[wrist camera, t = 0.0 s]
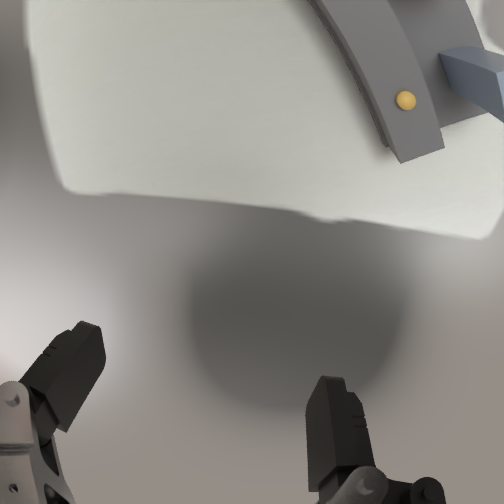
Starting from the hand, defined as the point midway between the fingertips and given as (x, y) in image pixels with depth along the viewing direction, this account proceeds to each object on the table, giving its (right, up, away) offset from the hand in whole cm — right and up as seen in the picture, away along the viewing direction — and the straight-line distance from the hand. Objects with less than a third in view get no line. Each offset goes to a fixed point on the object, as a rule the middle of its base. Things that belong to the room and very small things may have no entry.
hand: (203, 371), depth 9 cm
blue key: (+26, +26, +12) cm, 39 cm away
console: (+19, +30, +12) cm, 37 cm away
